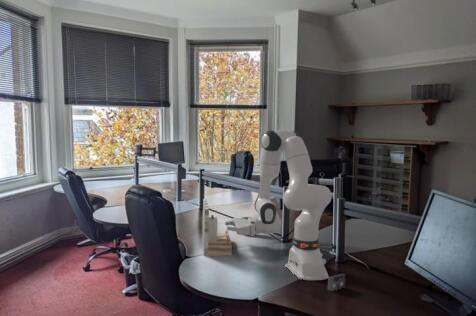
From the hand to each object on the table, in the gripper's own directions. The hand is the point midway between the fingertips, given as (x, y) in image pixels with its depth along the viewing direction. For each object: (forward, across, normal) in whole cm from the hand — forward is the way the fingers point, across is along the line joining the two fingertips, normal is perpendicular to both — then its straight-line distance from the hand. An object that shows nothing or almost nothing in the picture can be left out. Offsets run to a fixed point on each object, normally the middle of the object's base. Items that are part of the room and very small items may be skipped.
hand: (226, 225), depth 198 cm
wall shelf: (+4, 0, +12) cm, 13 cm away
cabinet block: (+8, 0, +8) cm, 11 cm away
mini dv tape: (-41, +53, +12) cm, 68 cm away
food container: (-17, -23, +12) cm, 31 cm away
